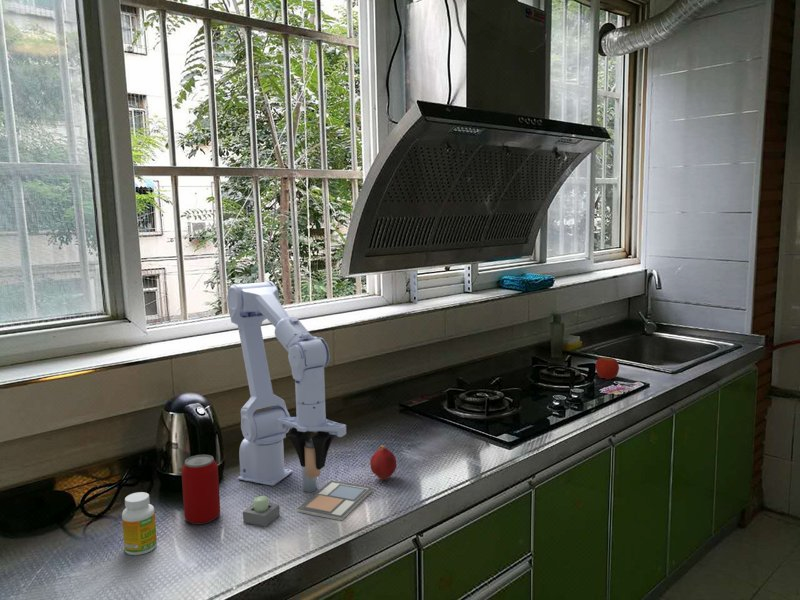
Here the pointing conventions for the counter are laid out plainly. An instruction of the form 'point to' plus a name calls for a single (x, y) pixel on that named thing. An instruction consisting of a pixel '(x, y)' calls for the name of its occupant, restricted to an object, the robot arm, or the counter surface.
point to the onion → (383, 463)
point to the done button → (261, 504)
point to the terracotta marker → (310, 460)
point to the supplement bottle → (139, 524)
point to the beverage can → (200, 489)
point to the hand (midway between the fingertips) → (312, 466)
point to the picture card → (335, 500)
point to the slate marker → (308, 482)
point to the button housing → (261, 515)
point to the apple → (607, 367)
